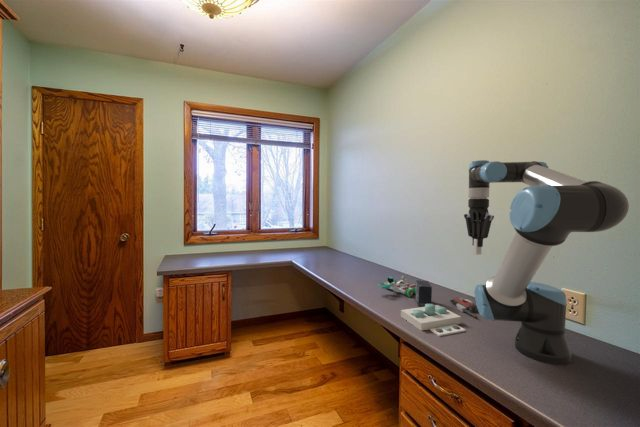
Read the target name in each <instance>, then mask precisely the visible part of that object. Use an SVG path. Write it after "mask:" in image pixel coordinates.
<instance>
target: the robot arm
mask: <svg viewBox="0 0 640 427" xmlns="http://www.w3.org/2000/svg"><path fill="white" fill-rule="evenodd" d="M468 166H469V167H468V198H469V199H468V203H467V204H468V205H467V206H468V208H469V210H468V213H465V214H463V218H464V220H465V223H466V224H465V225H466V228H467V235H468V237H470V238H471V239H472V244H471V245H472V246H473V250H472V251H473V255H476V256H478V255H482V248H483V246H484V239H487V238H488V237H489V233H490V230H491V229H490V228H491V225H492V221H493V220H494V218H495V216H494V215H492V214H490V213H489V207H490V200H489V197H490V183H492V184H494V183H522V184H525V185H527V187H524V188H522V189H520V190H519V191H518V192H517V193H516V194H515V196H514V197H513V199H512V200H511V204H510V206H509V209H510V211H509V221H510V223H511V226H512V227H513V229H514V231H515V235H514V237H513V239H512V241H511V243H510V245H509V247H508V249H507V251H506V254H505V255H504V257H503V259H502V261H501V263H500V266H499V268H498V270H497V272H496V274H495V275H493V276H491V277H489V278H488V279H487V281H486V282H485V284H482V283H481V284H477V285H476V286H475V287H474V299H475V305H477V309H478V313H479V315H480V317H481V318H483V319H485V320H492V321H500V322H501V321H504V322H520V323H521V324H520V327H519V330H518V332H517V333H516V336H515V338H514V347H515V349H516V350H517V351H518V352H520V353H521V355H524V356H526V357H528V358H530V359H533V360H536V361H538V362H541V363H546V364H551V365H568V364H569V363H571V362H572V350H571V349H570V346H569V343H568V340H567V337H566V317H567V316H566V314H567V305H568V304H567V295H566V293H565V292H564V291H563V290H561V289H560V288H557V287H555V286H551V285H550V284H545V283H541V282H535V281H532V280H533V278H534V277H535V275H536V273H537V272H538V270H539V269H540V267H541V265H542V264H543V262H544V260H545V259H546V257H547V256H548V254H549V253H550V251H551V250H552V248H553V247H556V246H560V245H562V244H564V242H565V241H566V239H567V238H568V237H569V235H570V234H571V233H596V232H597V233H598V232H604V231H607V230H610V229H612V228H614V227H616V226H617V225H619V224H620V223H621V222H623V220H624V219H625V218H626V216H627V215H628V212H629V208H630V207H629V206H630V204H629V200H628V198H627V196H626V195H625V193H624V192H623V191H621V190H620V189H618V187H615V186H612V185H610V184H607V183H604V182H601V181H597V180H590V181H585V180H582V179H580V178H577V177H575V176H571V175H568V174H565V173H563V172H560V171H556V170H555V169H551V168H549V166H548V165H547V163H546V162H544V161H538V160H537V161H535V160H532V161H518V162H517V161H514V162H512V161H511V162H510V161H509V162H507V161H506V162H501V161H496V160H495V161H489V160H487V159H486V160H484V159H483V160H481V159H480V160H475V161H471V162H470V163H469V165H468Z"/></svg>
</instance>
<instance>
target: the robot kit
mask: <svg viewBox="0 0 640 427" xmlns="http://www.w3.org/2000/svg"><path fill="white" fill-rule="evenodd" d="M376 287H377V288H378V287H380V288H381V290H382V289H387V290H392V291H395V292H398V293H400V294H403V295H405V296H407V297H409V298H410V297H413V294H415V295H416V283H415V284H413V283H411V282H409V281H407V277H406V276H404V275H402V276H401V279H400V280H396V279H395V278H394V277H392V276H387V281H385V282H379V283H377V284H376Z"/></svg>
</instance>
